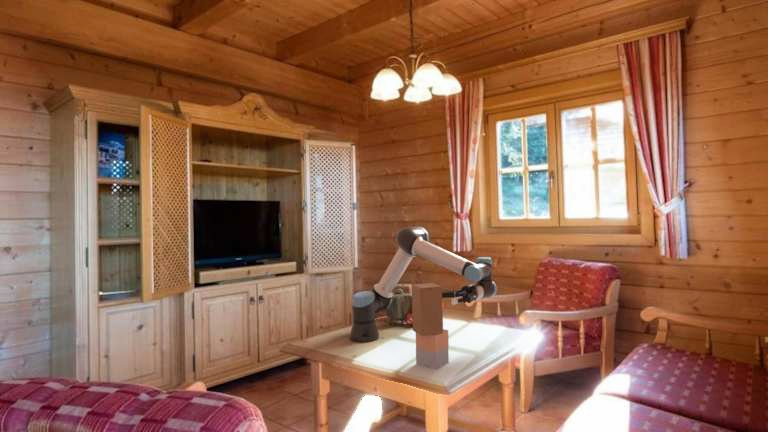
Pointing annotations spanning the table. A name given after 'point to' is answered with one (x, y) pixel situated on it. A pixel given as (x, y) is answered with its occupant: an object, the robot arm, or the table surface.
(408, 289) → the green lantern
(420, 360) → the tower base
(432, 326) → the wooden block
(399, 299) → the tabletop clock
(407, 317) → the molecule
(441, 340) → the tower top
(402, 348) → the table surface
